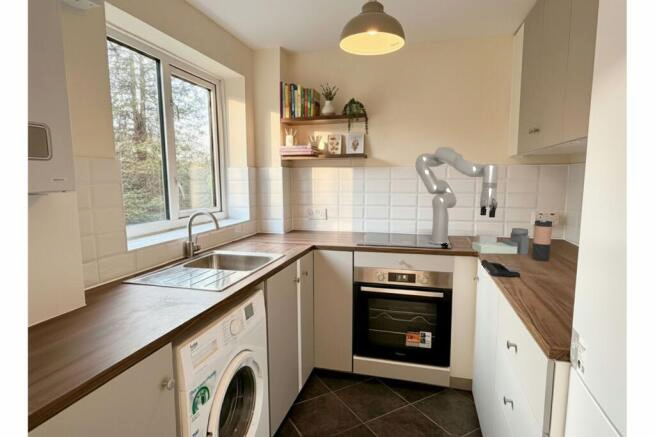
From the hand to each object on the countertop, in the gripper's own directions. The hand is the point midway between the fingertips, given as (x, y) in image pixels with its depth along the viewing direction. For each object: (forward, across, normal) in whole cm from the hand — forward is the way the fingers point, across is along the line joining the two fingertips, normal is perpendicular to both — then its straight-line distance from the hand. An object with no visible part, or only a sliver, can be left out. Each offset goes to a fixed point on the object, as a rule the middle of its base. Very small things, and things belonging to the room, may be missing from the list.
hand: (487, 216), depth 190 cm
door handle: (+20, +42, -14) cm, 49 cm away
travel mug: (+20, +20, +19) cm, 34 cm away
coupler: (+20, +1, +9) cm, 22 cm away
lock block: (+16, 0, 0) cm, 16 cm away
